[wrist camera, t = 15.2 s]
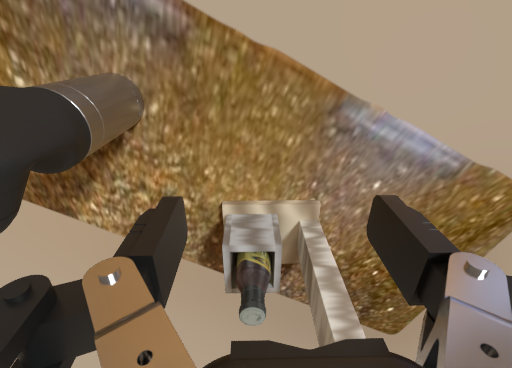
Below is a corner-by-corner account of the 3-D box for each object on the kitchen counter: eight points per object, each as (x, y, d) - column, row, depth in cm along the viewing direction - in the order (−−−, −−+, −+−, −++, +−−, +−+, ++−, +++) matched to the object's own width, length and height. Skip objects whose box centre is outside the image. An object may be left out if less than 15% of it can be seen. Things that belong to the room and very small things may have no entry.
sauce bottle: (273, 238, 58) (284, 322, 40) (250, 251, 59) (251, 338, 42) (256, 218, 55) (259, 298, 38) (232, 232, 57) (224, 316, 39)
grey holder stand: (226, 259, 62) (210, 414, 36) (222, 201, 55) (198, 340, 29) (311, 258, 63) (356, 410, 36) (318, 200, 55) (381, 336, 29)
